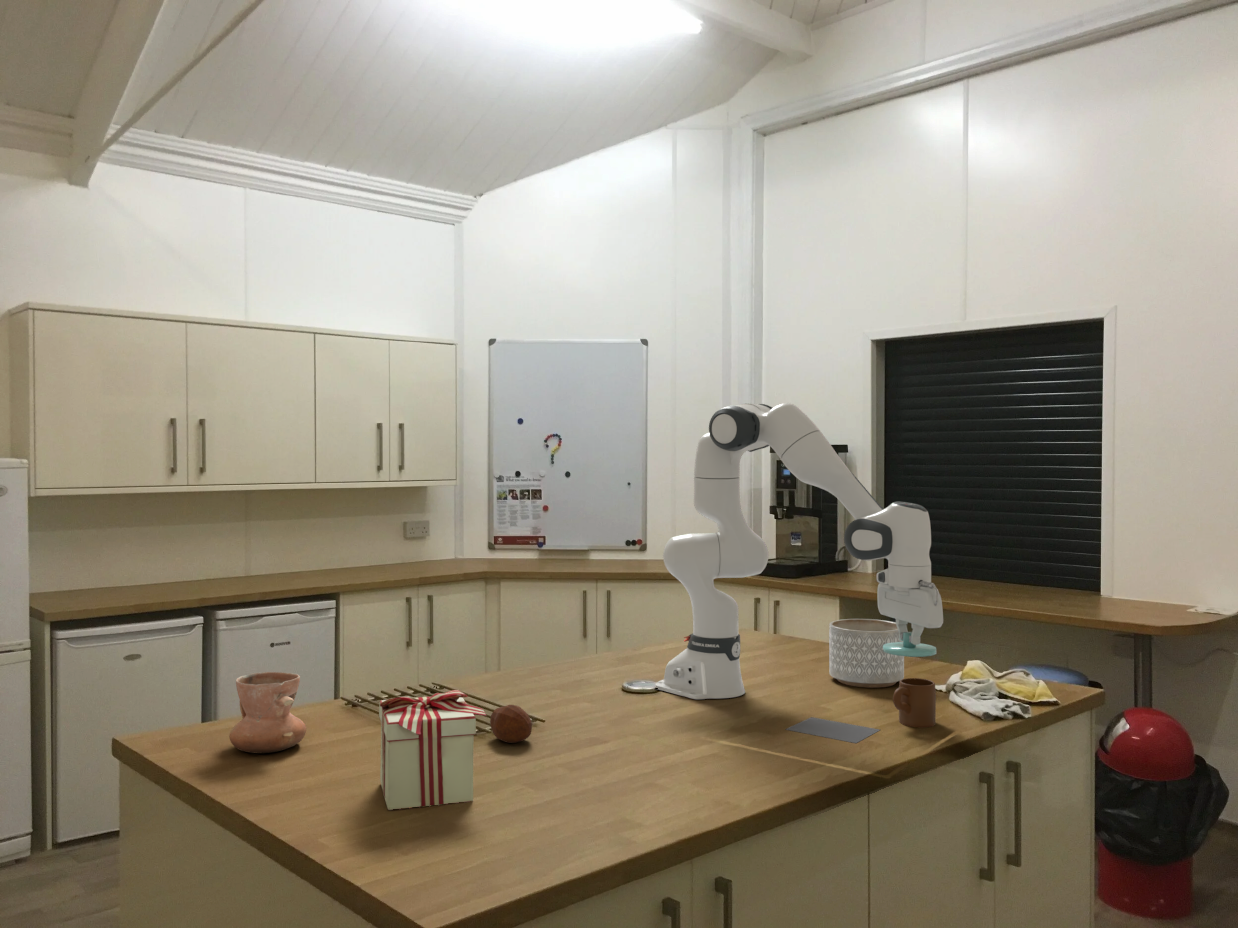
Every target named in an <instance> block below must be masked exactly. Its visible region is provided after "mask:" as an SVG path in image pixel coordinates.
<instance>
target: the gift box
mask: <svg viewBox="0 0 1238 928" xmlns="http://www.w3.org/2000/svg"><path fill="white" fill-rule="evenodd" d="M468 697H469V696H468V694H466V693H464V692H463V691H461V690H458V689H453V690H449V691H447V692H444V693H441V692H440V693H439V692H436V693H434V694H433V695H431V696H422V697H421V696H418V697H417V696H416V697H413V696H409V695H408V696H400V697H394V698H389V699H383V700H382V699H381V700H379V701H378V702H379V703H378V704H379V705H378V706H379V707H378V709H379V710H378V717H379V720H380V775H379V776H380V778H379V779H380V785H381V790H382V795H383V798H384V800H385V804H386V808H387V810H388V811H394V810H393V809H399V810H402V809H401V808H409V807H419V808H421V807H420V806H429V807H431V806H430V805H438V806H440V805H439V804H446V805H449V804H448V803H456V804H460V803H459V802H464V803H471V802H470V801H472V802H474V745H475V744H474V735H476V733H477V729H476V728H477V723H476V721H477V720H476V716H484V717H485V716H487V714H486V712H485V711H484V709H483V708H481V707H478V706H474V705H470V704H468V703H467V702H466V700H465V699H464V698H468ZM409 809H410V808H409Z"/></svg>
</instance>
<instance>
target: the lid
mask: <svg viewBox="0 0 1238 928" xmlns="http://www.w3.org/2000/svg"><path fill="white" fill-rule="evenodd" d="M909 635H912V631H908V632H903V642H893V643H886V644H884V645H883V651H884V652H886V653H888V654H893V655H898V656H904V657H910V658H911V657H912V658H913V657H914V658H917V657H918V658H919V657H921V658H922V657H931V656H935V655H937V647H936V646H934V645H931V644H926V643H921V642H920V644H919V645H913V644H910V643H909Z"/></svg>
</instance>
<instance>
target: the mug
mask: <svg viewBox="0 0 1238 928" xmlns="http://www.w3.org/2000/svg"><path fill="white" fill-rule="evenodd" d="M936 692H937V691H936V683H935V682H934V681H933V680H930V679H926V678H919V677H918V678H916V677H914V678H912V677H908V678H903V679H902V680H900V681H899V685H898V687H897V688H896V689H895V690H894V692H893V695H892V701H893V706H894V707H895V709H897V711H898V721H899V723H900V724H902V725H903V726H905V727H906V726H907V727H911V728H931V727H934V726H935V725H936V709H937V708H936V705H937V704H936V703H937V701H936V700H937V698H936V697H937V696H936Z"/></svg>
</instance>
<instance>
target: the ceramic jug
mask: <svg viewBox="0 0 1238 928" xmlns="http://www.w3.org/2000/svg"><path fill="white" fill-rule="evenodd" d="M300 681H301V676H300V675H299V674H298V673H292V672H281V671H280V672H279V671H265V672H253V673H248V674H246V675H241V676H238V677H237V678H236V680H235V685H236V691H237V695H238V698H239V709H240V715H241V717H242V719H241V720H240V721H239V722H237V723H236V724H235V725H234V726H233V727H232V728H231V730H230V733H229V735H228V736H229V741H230V743H231V744H232V745H233V747H235V748H236V749H238V750H240V751H242V752H246V753H250V754H252V753H253V754H270V753H276V752H279V751H284V750H287V749H290V748H292V747H294V746H295V745H298V743H300V742H301V741H302V740H303V739H304V738H305V736H306V734H307V727H306V726H307V725H306V723H304V721H303V720H302V719H301V718H299V717H298V716H295V715H293V714H292V713H291V709H292V706H293V704H294V703H295V699H296V695H297V693H298V691H299V686H300Z"/></svg>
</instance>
